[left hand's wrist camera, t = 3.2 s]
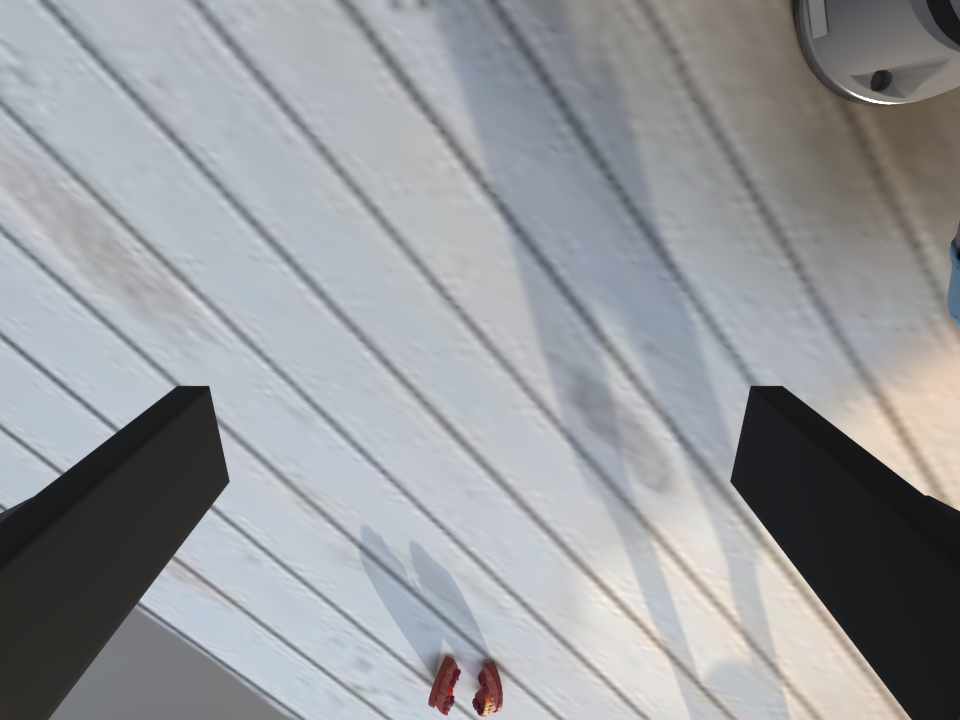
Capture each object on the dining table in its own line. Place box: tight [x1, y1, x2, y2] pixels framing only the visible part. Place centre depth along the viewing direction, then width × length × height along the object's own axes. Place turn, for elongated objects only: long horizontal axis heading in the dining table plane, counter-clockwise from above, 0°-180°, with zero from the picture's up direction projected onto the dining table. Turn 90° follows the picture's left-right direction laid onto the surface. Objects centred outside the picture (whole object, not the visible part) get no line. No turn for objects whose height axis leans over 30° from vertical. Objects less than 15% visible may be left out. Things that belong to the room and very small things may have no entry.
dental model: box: [428, 656, 503, 716], centre depth 57 cm, size 6×4×8 cm
